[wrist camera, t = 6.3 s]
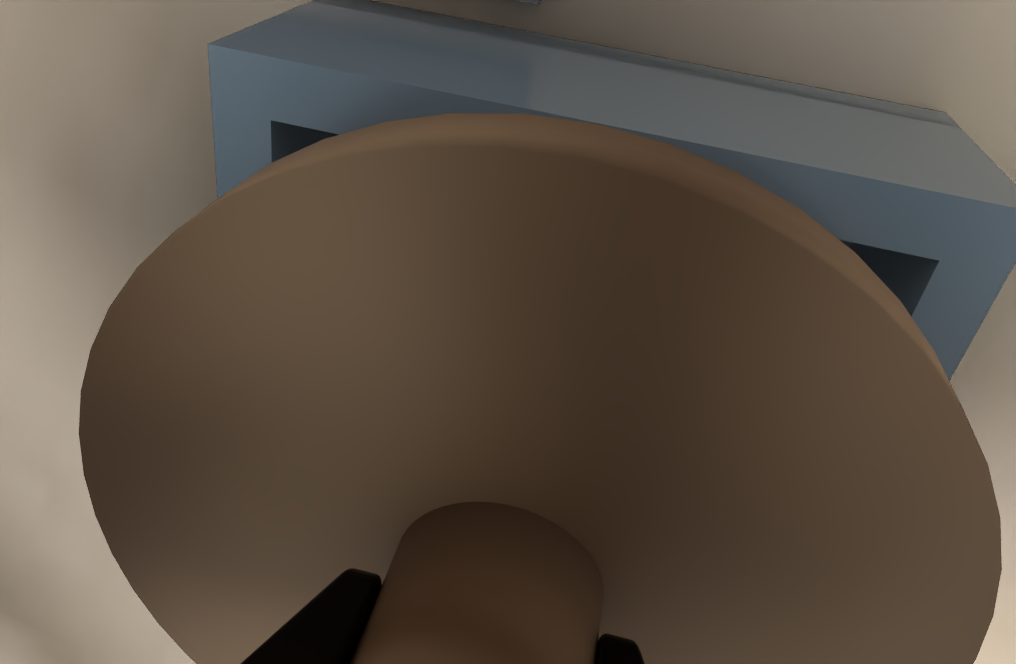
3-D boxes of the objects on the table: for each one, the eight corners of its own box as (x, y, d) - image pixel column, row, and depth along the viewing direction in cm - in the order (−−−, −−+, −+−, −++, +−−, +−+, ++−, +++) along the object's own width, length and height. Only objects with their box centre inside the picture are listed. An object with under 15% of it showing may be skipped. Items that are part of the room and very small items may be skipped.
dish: (322, 445, 18) (242, 578, 15) (331, -7, 13) (207, 44, 10) (748, 550, 18) (761, 714, 14) (946, 112, 12) (1042, 212, 9)
